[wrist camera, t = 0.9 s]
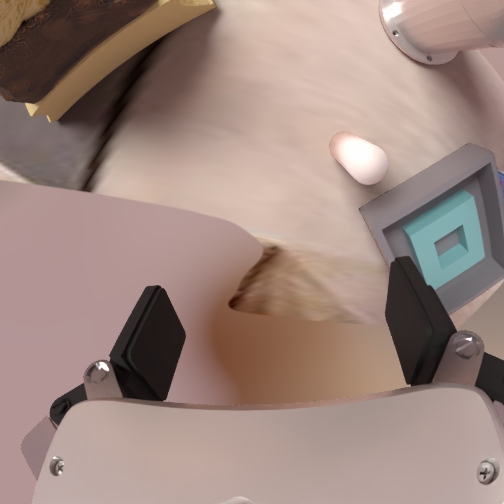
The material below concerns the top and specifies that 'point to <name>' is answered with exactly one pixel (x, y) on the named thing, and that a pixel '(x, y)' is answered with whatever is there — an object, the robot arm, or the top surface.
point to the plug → (359, 157)
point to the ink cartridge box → (501, 181)
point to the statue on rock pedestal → (77, 44)
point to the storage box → (446, 225)
